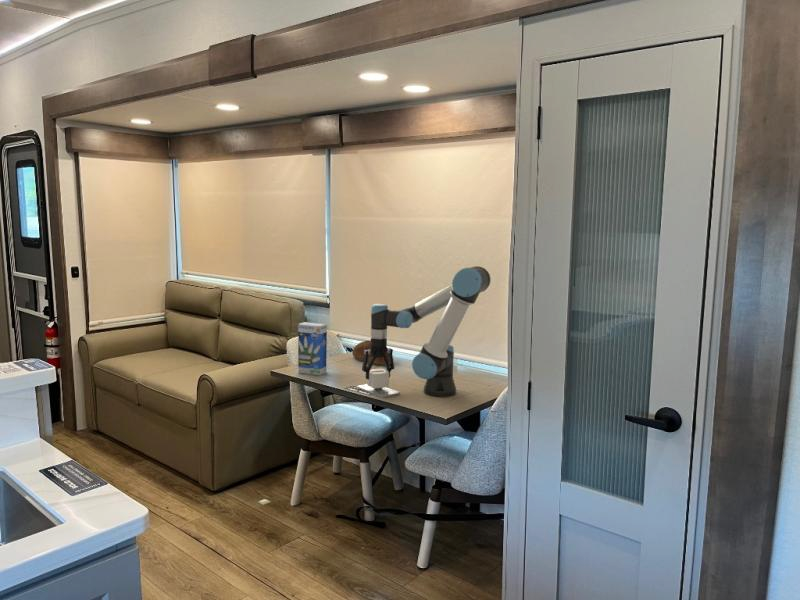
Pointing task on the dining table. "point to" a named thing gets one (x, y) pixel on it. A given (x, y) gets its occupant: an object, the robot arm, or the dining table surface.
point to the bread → (359, 354)
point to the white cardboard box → (379, 378)
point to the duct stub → (379, 391)
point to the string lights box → (312, 348)
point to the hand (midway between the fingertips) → (377, 384)
